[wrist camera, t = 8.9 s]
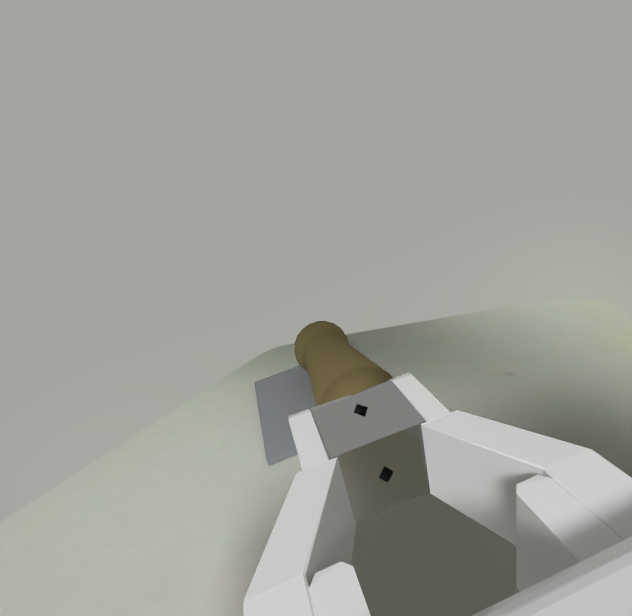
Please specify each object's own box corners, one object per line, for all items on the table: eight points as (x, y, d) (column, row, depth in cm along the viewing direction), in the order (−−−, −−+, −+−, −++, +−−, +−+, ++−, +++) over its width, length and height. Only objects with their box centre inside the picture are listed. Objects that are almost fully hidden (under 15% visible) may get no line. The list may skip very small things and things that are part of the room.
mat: (269, 465, 25) (266, 459, 25) (256, 386, 35) (254, 382, 35) (391, 415, 26) (390, 409, 26) (345, 353, 36) (344, 349, 36)
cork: (370, 448, 26) (326, 375, 36) (412, 382, 25) (355, 325, 35) (302, 428, 23) (276, 355, 33) (346, 353, 22) (305, 302, 32)
